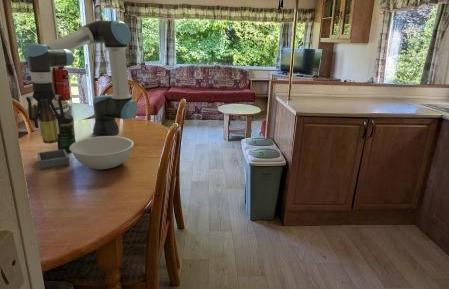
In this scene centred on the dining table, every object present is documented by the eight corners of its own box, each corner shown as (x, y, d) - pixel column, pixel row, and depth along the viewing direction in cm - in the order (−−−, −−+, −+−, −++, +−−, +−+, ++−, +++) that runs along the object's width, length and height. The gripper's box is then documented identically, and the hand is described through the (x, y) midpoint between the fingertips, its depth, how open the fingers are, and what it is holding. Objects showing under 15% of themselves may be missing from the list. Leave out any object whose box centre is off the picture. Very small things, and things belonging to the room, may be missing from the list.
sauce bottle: (50, 139, 145) (44, 96, 139) (61, 141, 144) (56, 98, 138) (39, 143, 139) (32, 99, 133) (50, 145, 138) (44, 100, 132)
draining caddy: (65, 156, 153) (64, 149, 152) (69, 165, 143) (68, 157, 142) (38, 160, 147) (37, 152, 146) (40, 170, 137) (39, 161, 136)
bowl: (74, 157, 152) (71, 138, 149) (132, 152, 162) (131, 134, 159) (69, 180, 128) (66, 158, 125) (137, 173, 138) (136, 152, 134)
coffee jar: (73, 152, 158) (69, 117, 153) (56, 153, 157) (51, 117, 151) (78, 146, 167) (74, 112, 162) (62, 147, 166) (58, 112, 160)
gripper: (15, 83, 125) (24, 138, 132) (68, 82, 135) (74, 133, 142) (15, 81, 131) (23, 134, 138) (65, 80, 141) (71, 129, 148)
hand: (49, 133), depth 140 cm, fingers closed on sauce bottle, 6 cm apart
